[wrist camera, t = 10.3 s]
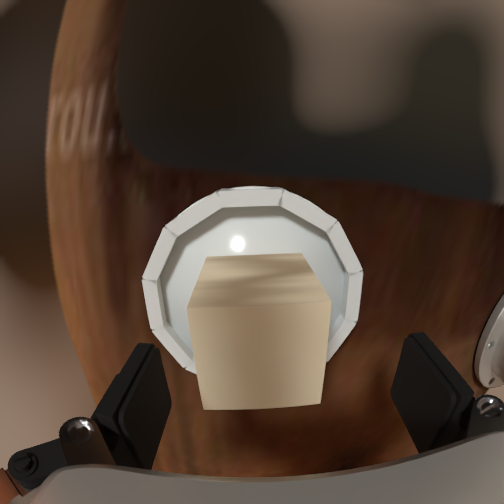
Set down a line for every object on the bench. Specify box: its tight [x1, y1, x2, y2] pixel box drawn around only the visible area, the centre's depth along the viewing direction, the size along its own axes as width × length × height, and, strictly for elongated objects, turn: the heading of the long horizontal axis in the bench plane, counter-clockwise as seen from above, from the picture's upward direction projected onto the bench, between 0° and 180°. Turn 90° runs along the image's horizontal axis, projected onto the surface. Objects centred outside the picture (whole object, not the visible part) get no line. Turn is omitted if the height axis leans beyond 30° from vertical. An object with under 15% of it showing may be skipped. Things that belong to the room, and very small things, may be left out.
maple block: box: [187, 253, 332, 410], centre depth 14 cm, size 5×5×6 cm
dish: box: [142, 186, 363, 374], centre depth 16 cm, size 12×12×1 cm
